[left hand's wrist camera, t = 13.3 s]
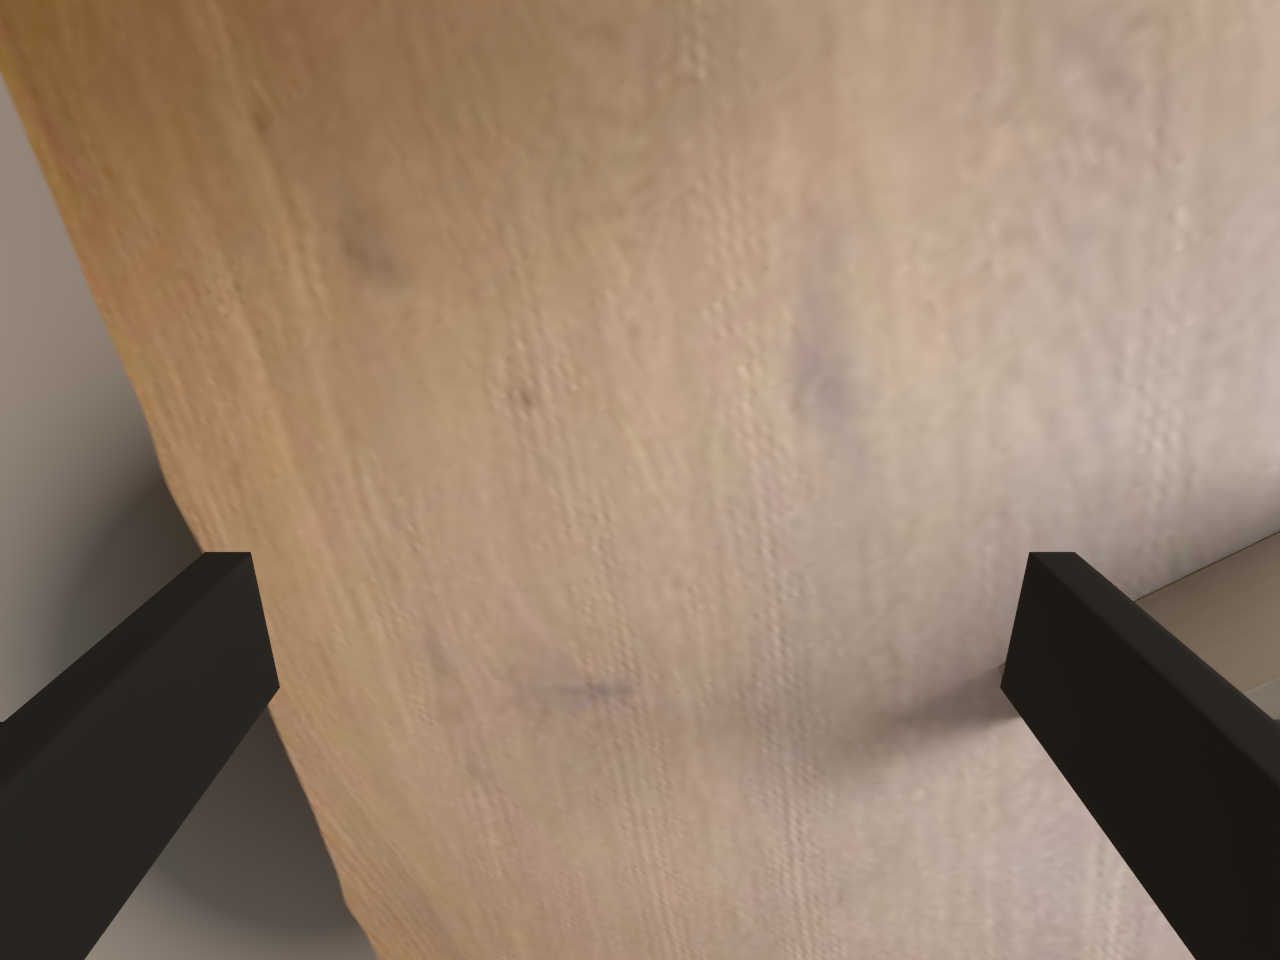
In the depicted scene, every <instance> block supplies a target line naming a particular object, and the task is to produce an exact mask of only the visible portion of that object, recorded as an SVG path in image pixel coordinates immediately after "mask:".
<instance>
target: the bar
mask: <svg viewBox="0 0 1280 960" xmlns="http://www.w3.org/2000/svg"><path fill="white" fill-rule="evenodd" d="M1135 603H1136V604H1137V605H1138V606H1139V607H1141V608H1142V609H1143V610H1144V611H1145V612H1146V613H1148V614H1149V615H1150V616H1151V617H1152V618H1154V619H1155V620H1156V621H1157V622H1158V623H1160V624H1161V625H1162V626H1163V627H1164V628H1165V629H1167V630H1168V631H1169V632H1170V633H1171V634H1173V635H1174V636H1175V637H1176V638H1177V639H1179V640H1180V641H1181V642H1182V643H1183V644H1184V645H1186V646H1187V647H1188V648H1189V649H1190V650H1192V651H1193V652H1194V653H1195V654H1196V655H1198V656H1199V657H1200V658H1201V659H1202V660H1203V661H1205V662H1206V663H1207V664H1208V665H1209V666H1211V667H1212V668H1213V669H1214V670H1215V671H1217V672H1218V673H1219V674H1220V675H1221V676H1222V677H1224V678H1225V679H1226V680H1227V681H1228V682H1230V683H1231V684H1232V685H1233V686H1234V687H1236V688H1237V689H1238V690H1239V691H1240V692H1241V693H1243V694H1244V695H1245V696H1246V697H1247V698H1249V699H1250V700H1251V701H1252V702H1253V703H1255V704H1256V705H1257V706H1258V707H1259V708H1260V709H1262V710H1263V711H1264V712H1265V713H1266V714H1268V715H1269V716H1270V717H1271V718H1272V719H1280V532H1279V533H1277V534H1275V535H1273V536H1270V537H1268V538H1266V539H1264V540H1262V541H1260V542H1258V543H1256V544H1254V545H1252V546H1250V547H1248V548H1246V549H1243V550H1241V551H1239V552H1237V553H1235V554H1233V555H1231V556H1229V557H1227V558H1225V559H1223V560H1221V561H1218V562H1216V563H1214V564H1212V565H1210V566H1208V567H1206V568H1204V569H1202V570H1200V571H1198V572H1196V573H1193V574H1191V575H1189V576H1187V577H1185V578H1183V579H1181V580H1179V581H1177V582H1175V583H1173V584H1171V585H1168V586H1166V587H1164V588H1162V589H1160V590H1158V591H1156V592H1154V593H1152V594H1150V595H1148V596H1146V597H1143V598H1141V599H1139V600H1137V601H1135ZM1004 667H1005V664H1004V665H1002V666H1000V667H999V669H1000V671H1001V673H1002V674H1003V672H1004Z"/></svg>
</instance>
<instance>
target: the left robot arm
mask: <svg viewBox="0 0 1280 960" xmlns="http://www.w3.org/2000/svg"><path fill="white" fill-rule="evenodd" d="M279 688H280V686H279V681H278V677H277V672H276V667H275V663H274V658H273V654H272V649H271V644H270V640H269V635H268V630H267V626H266V621H265V616H264V612H263V607H262V602H261V598H260V593H259V589H258V584H257V579H256V575H255V570H254V565H253V561H252V556H251V552H205V553H204V554H202V555H201V556H200V557H199V558H198V559H196V560H195V561H194V562H193V563H192V564H191V565H189V566H188V567H187V568H186V569H185V570H183V571H182V572H181V573H180V574H179V575H177V576H176V577H175V578H174V579H173V580H172V581H170V582H169V583H168V584H167V585H166V586H165V587H163V588H162V589H161V590H160V591H159V592H157V593H156V594H155V595H154V596H153V597H151V598H150V599H149V600H148V601H147V602H145V603H144V604H143V605H142V606H141V607H140V608H138V609H137V610H136V611H135V612H134V613H132V614H131V615H130V616H129V617H128V618H126V619H125V620H124V621H123V622H122V623H121V624H119V625H118V626H117V627H116V628H115V629H113V630H112V631H111V632H110V633H109V634H107V635H106V636H105V637H104V638H103V639H102V640H100V641H99V642H98V643H97V644H96V645H94V646H93V647H92V648H91V649H90V650H89V651H87V652H86V653H85V654H84V655H82V656H81V657H80V658H79V659H78V660H77V661H75V662H74V663H73V664H72V665H71V666H69V667H68V668H67V669H66V670H65V671H63V672H62V673H61V674H60V675H59V676H58V677H56V678H55V679H54V680H53V681H52V682H50V683H49V684H48V685H47V686H46V687H45V688H43V689H42V690H41V691H40V692H39V693H37V694H36V695H35V696H34V697H33V698H31V699H30V700H29V701H28V702H27V703H26V704H24V705H23V706H22V707H21V708H20V709H18V710H17V711H16V712H15V713H14V714H12V715H11V716H10V717H9V718H8V719H6V720H5V721H4V722H0V960H84V959H85V958H86V957H87V955H88V954H89V952H90V951H91V950H92V948H93V947H94V945H95V944H96V943H97V941H98V940H99V938H100V937H101V936H102V934H103V933H104V932H105V930H106V929H107V927H108V926H109V925H110V923H111V922H112V920H113V919H114V918H115V916H116V915H117V913H118V912H119V911H120V909H121V908H122V906H123V905H124V904H125V902H126V901H127V899H128V898H129V897H130V895H131V894H132V892H133V891H134V890H135V888H136V887H137V886H138V884H139V883H140V881H141V880H142V879H143V877H144V876H145V874H146V873H147V872H148V870H149V869H150V867H151V866H152V865H153V863H154V862H155V860H156V859H157V858H158V856H159V855H160V854H161V852H162V851H163V849H164V848H165V847H166V845H167V844H168V842H169V841H170V840H171V838H172V837H173V835H174V834H175V833H176V831H177V830H178V828H179V827H180V826H181V824H182V823H183V822H184V820H185V819H186V817H187V816H188V815H189V813H190V812H191V810H192V809H193V807H194V806H195V805H196V803H197V802H198V801H199V799H200V798H201V796H202V795H203V794H204V792H205V791H206V790H207V788H208V787H209V785H210V784H211V783H212V781H213V780H214V778H215V777H216V776H217V774H218V773H219V771H220V770H221V769H222V767H223V766H224V764H225V763H226V762H227V760H228V759H229V757H230V756H231V755H232V753H233V752H234V750H235V749H236V748H237V746H238V745H239V744H240V742H241V741H242V739H243V738H244V737H245V735H246V734H247V732H248V731H249V730H250V728H251V727H252V725H253V724H254V723H255V721H256V720H257V719H258V717H259V716H260V714H261V713H262V712H263V710H264V709H265V707H266V706H267V705H268V703H269V702H270V700H271V699H272V698H273V696H274V695H275V693H276V692H277V691H278V689H279ZM1000 688H1001V689H1002V691H1003V692H1004V693H1005V695H1006V696H1007V698H1008V699H1009V700H1010V702H1011V703H1012V705H1013V706H1014V707H1015V709H1016V710H1017V712H1018V713H1019V714H1020V716H1021V717H1022V719H1023V720H1024V721H1025V723H1026V724H1027V725H1028V727H1029V728H1030V730H1031V731H1032V732H1033V734H1034V735H1035V737H1036V738H1037V739H1038V741H1039V742H1040V744H1041V745H1042V746H1043V748H1044V749H1045V751H1046V752H1047V753H1048V755H1049V756H1050V757H1051V759H1052V760H1053V762H1054V763H1055V764H1056V766H1057V767H1058V769H1059V770H1060V771H1061V773H1062V774H1063V776H1064V777H1065V778H1066V780H1067V781H1068V783H1069V784H1070V785H1071V787H1072V788H1073V790H1074V791H1075V792H1076V794H1077V795H1078V796H1079V798H1080V799H1081V801H1082V802H1083V803H1084V805H1085V806H1086V808H1087V809H1088V810H1089V812H1090V813H1091V815H1092V816H1093V817H1094V819H1095V820H1096V822H1097V823H1098V824H1099V826H1100V827H1101V828H1102V830H1103V831H1104V833H1105V834H1106V835H1107V837H1108V838H1109V840H1110V841H1111V842H1112V844H1113V845H1114V847H1115V848H1116V849H1117V851H1118V852H1119V854H1120V855H1121V856H1122V858H1123V859H1124V861H1125V862H1126V863H1127V865H1128V866H1129V867H1130V869H1131V870H1132V872H1133V873H1134V874H1135V876H1136V877H1137V879H1138V880H1139V881H1140V883H1141V884H1142V886H1143V887H1144V888H1145V890H1146V891H1147V893H1148V894H1149V895H1150V897H1151V898H1152V899H1153V901H1154V902H1155V904H1156V905H1157V906H1158V908H1159V909H1160V911H1161V912H1162V913H1163V915H1164V916H1165V918H1166V919H1167V920H1168V922H1169V923H1170V925H1171V926H1172V927H1173V929H1174V930H1175V932H1176V933H1177V934H1178V936H1179V937H1180V938H1181V940H1182V941H1183V943H1184V944H1185V945H1186V947H1187V948H1188V950H1189V951H1190V952H1191V954H1192V955H1193V957H1194V958H1195V959H1196V960H1280V719H1272V718H1271V717H1270V716H1269V715H1268V714H1266V713H1265V712H1264V711H1263V710H1262V709H1260V708H1259V707H1258V706H1257V705H1256V704H1255V703H1253V702H1252V701H1251V700H1250V699H1249V698H1247V697H1246V696H1245V695H1244V694H1243V693H1241V692H1240V691H1239V690H1238V689H1237V688H1236V687H1234V686H1233V685H1232V684H1231V683H1230V682H1228V681H1227V680H1226V679H1225V678H1224V677H1222V676H1221V675H1220V674H1219V673H1218V672H1217V671H1215V670H1214V669H1213V668H1212V667H1211V666H1209V665H1208V664H1207V663H1206V662H1205V661H1203V660H1202V659H1201V658H1200V657H1199V656H1198V655H1196V654H1195V653H1194V652H1193V651H1192V650H1190V649H1189V648H1188V647H1187V646H1186V645H1184V644H1183V643H1182V642H1181V641H1180V640H1179V639H1177V638H1176V637H1175V636H1174V635H1173V634H1171V633H1170V632H1169V631H1168V630H1167V629H1165V628H1164V627H1163V626H1162V625H1161V624H1160V623H1158V622H1157V621H1156V620H1155V619H1154V618H1152V617H1151V616H1150V615H1149V614H1148V613H1146V612H1145V611H1144V610H1143V609H1142V608H1141V607H1139V606H1138V605H1137V604H1136V603H1135V602H1133V601H1132V600H1131V599H1130V598H1129V597H1127V596H1126V595H1125V594H1124V593H1123V592H1122V591H1120V590H1119V589H1118V588H1117V587H1116V586H1114V585H1113V584H1112V583H1111V582H1110V581H1108V580H1107V579H1106V578H1105V577H1104V576H1103V575H1101V574H1100V573H1099V572H1098V571H1097V570H1095V569H1094V568H1093V567H1092V566H1091V565H1089V564H1088V563H1087V562H1086V561H1085V560H1084V559H1082V558H1081V557H1080V556H1079V555H1078V554H1076V553H1075V552H1029V556H1028V561H1027V565H1026V570H1025V575H1024V579H1023V584H1022V589H1021V593H1020V598H1019V602H1018V607H1017V612H1016V616H1015V621H1014V626H1013V630H1012V635H1011V640H1010V644H1009V649H1008V654H1007V658H1006V663H1005V667H1004V672H1003V677H1002V681H1001V686H1000Z"/></svg>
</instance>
